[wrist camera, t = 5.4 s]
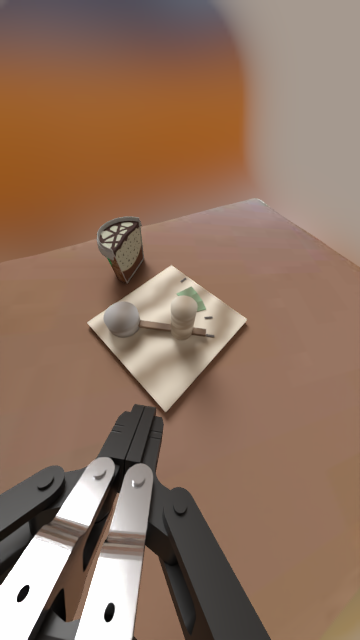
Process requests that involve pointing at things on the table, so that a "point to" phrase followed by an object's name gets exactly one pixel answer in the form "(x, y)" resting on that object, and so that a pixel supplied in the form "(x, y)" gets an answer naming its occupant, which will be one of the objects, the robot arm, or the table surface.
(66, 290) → the table surface
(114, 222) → the food container
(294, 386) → the table surface
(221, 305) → the dial plate
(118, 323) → the peg dial
